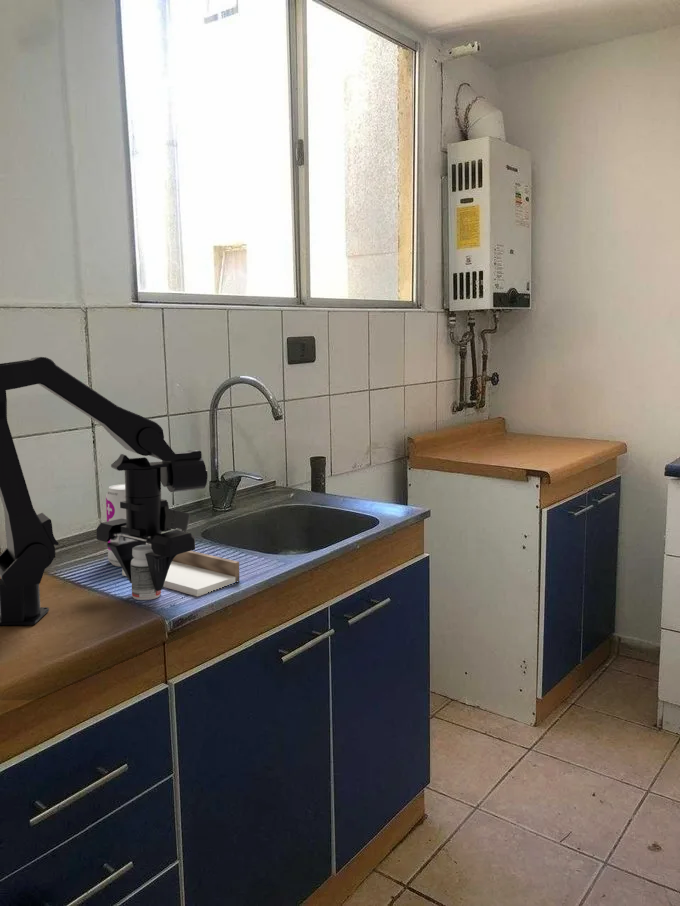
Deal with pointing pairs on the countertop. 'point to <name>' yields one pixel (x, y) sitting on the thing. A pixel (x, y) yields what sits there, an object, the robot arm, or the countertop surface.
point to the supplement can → (115, 512)
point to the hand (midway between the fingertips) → (146, 586)
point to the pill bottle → (142, 575)
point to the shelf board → (200, 573)
